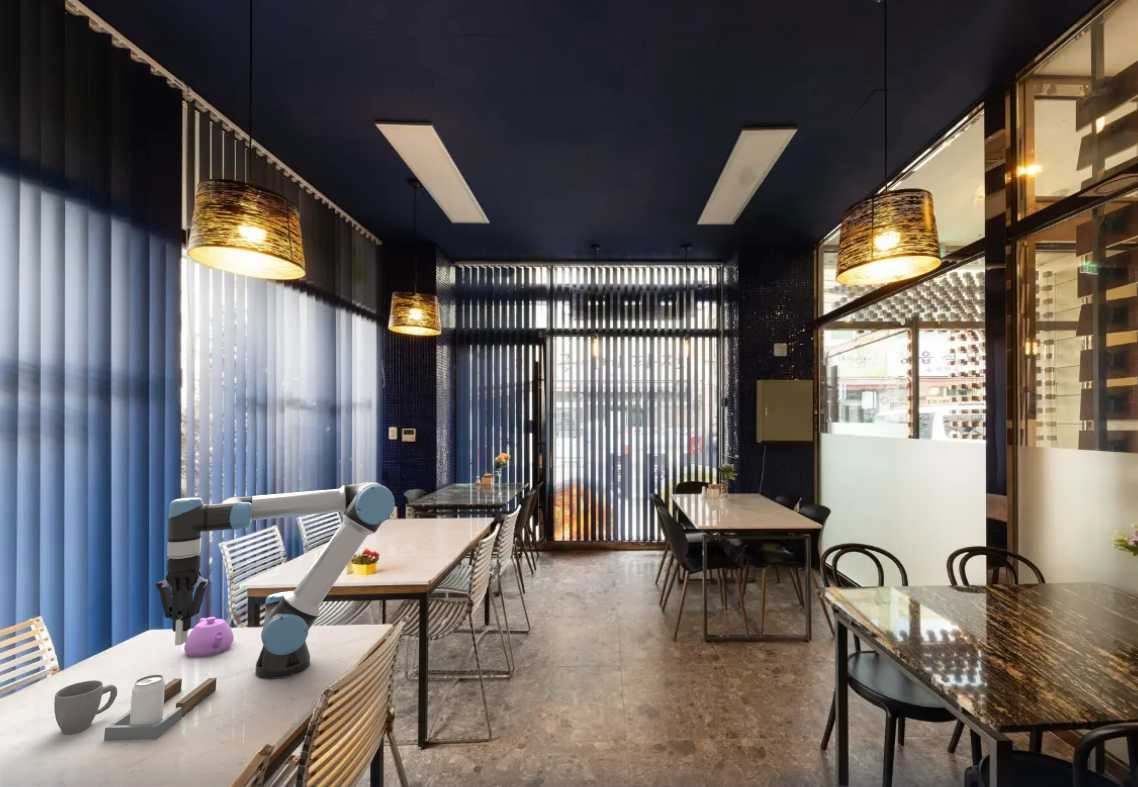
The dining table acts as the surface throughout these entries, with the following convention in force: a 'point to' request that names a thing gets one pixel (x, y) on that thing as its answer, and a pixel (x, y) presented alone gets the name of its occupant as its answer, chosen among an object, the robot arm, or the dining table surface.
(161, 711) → the can
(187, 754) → the dining table surface
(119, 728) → the bay
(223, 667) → the dining table surface
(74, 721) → the mug
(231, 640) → the teapot
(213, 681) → the chute
